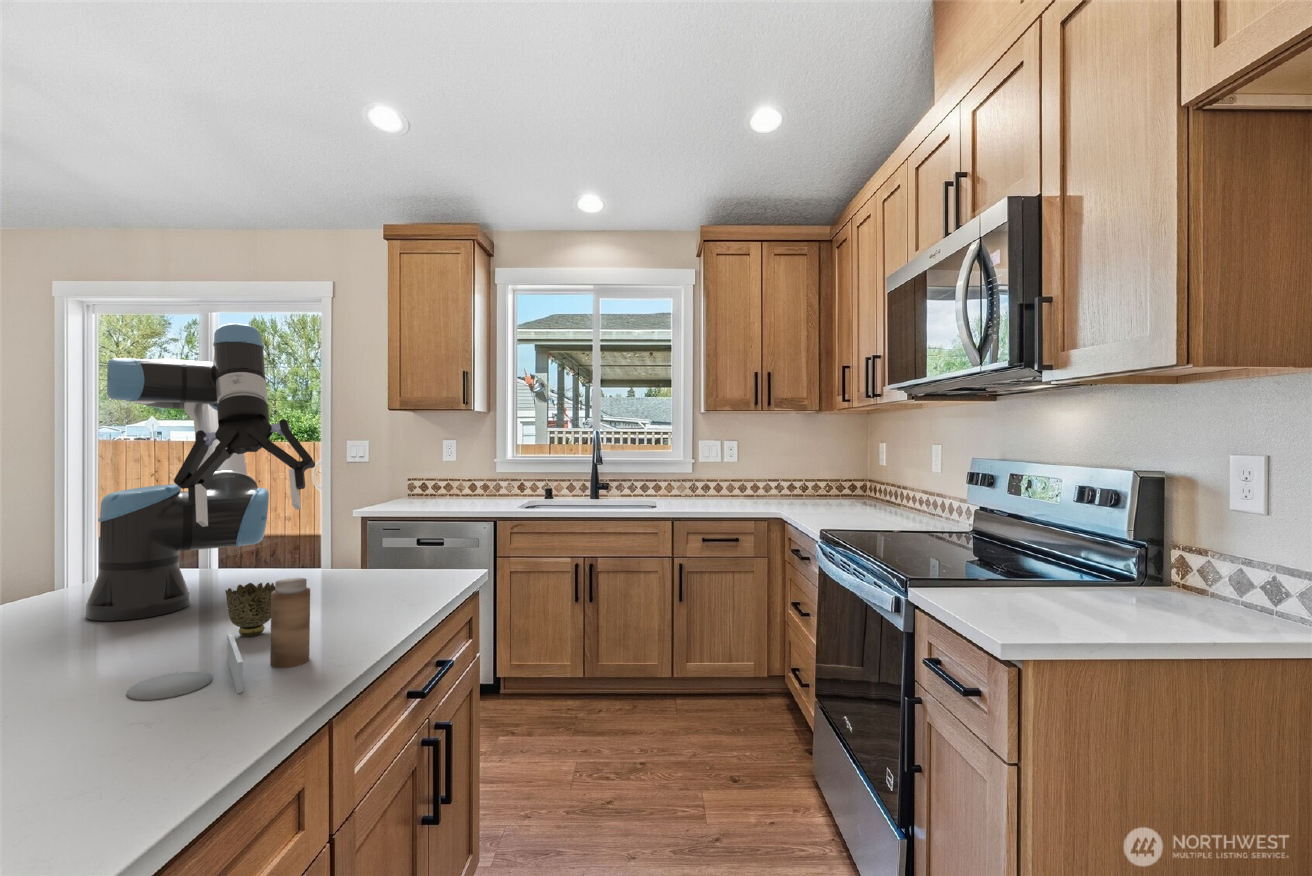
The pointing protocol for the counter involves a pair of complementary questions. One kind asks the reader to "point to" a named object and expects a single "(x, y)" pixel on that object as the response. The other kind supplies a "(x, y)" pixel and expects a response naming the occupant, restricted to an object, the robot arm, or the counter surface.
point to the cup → (250, 607)
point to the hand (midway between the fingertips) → (250, 515)
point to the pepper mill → (290, 623)
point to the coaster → (169, 685)
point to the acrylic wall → (235, 662)
